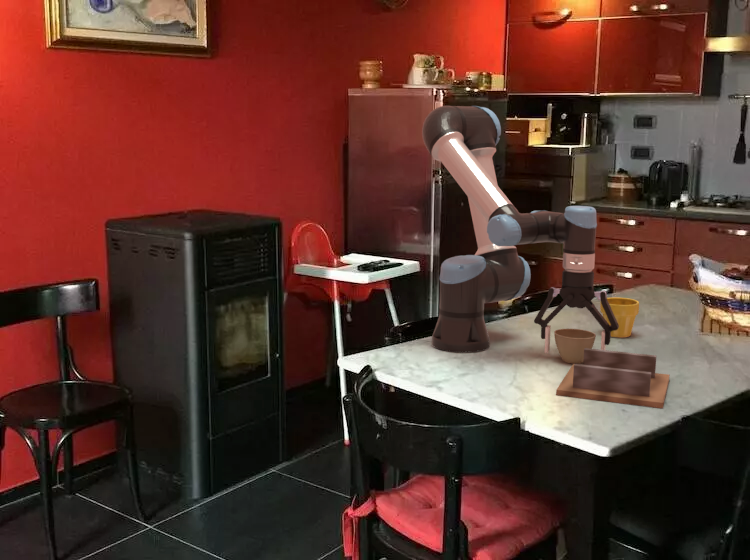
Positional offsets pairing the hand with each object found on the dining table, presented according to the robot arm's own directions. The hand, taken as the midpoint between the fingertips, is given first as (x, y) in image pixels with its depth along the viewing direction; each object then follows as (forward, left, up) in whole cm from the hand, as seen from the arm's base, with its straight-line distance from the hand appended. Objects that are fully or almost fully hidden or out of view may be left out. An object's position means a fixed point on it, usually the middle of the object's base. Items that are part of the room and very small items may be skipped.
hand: (574, 354), depth 212 cm
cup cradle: (+12, -18, -2) cm, 22 cm away
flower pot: (0, 0, -2) cm, 2 cm away
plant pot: (+7, +32, -2) cm, 33 cm away
